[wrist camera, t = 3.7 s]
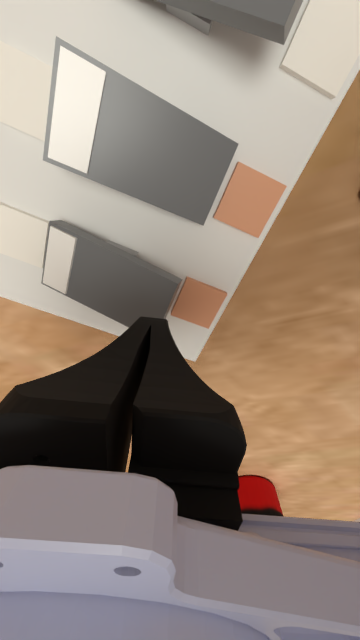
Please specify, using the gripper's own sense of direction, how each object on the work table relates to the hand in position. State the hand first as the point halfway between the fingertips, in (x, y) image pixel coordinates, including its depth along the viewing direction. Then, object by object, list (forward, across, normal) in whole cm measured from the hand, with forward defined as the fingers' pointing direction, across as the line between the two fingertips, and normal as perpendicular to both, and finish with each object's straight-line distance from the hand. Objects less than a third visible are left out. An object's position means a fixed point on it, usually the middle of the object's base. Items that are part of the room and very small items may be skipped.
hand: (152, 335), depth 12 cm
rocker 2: (+4, +3, -1) cm, 5 cm away
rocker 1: (+4, +1, -8) cm, 9 cm away
